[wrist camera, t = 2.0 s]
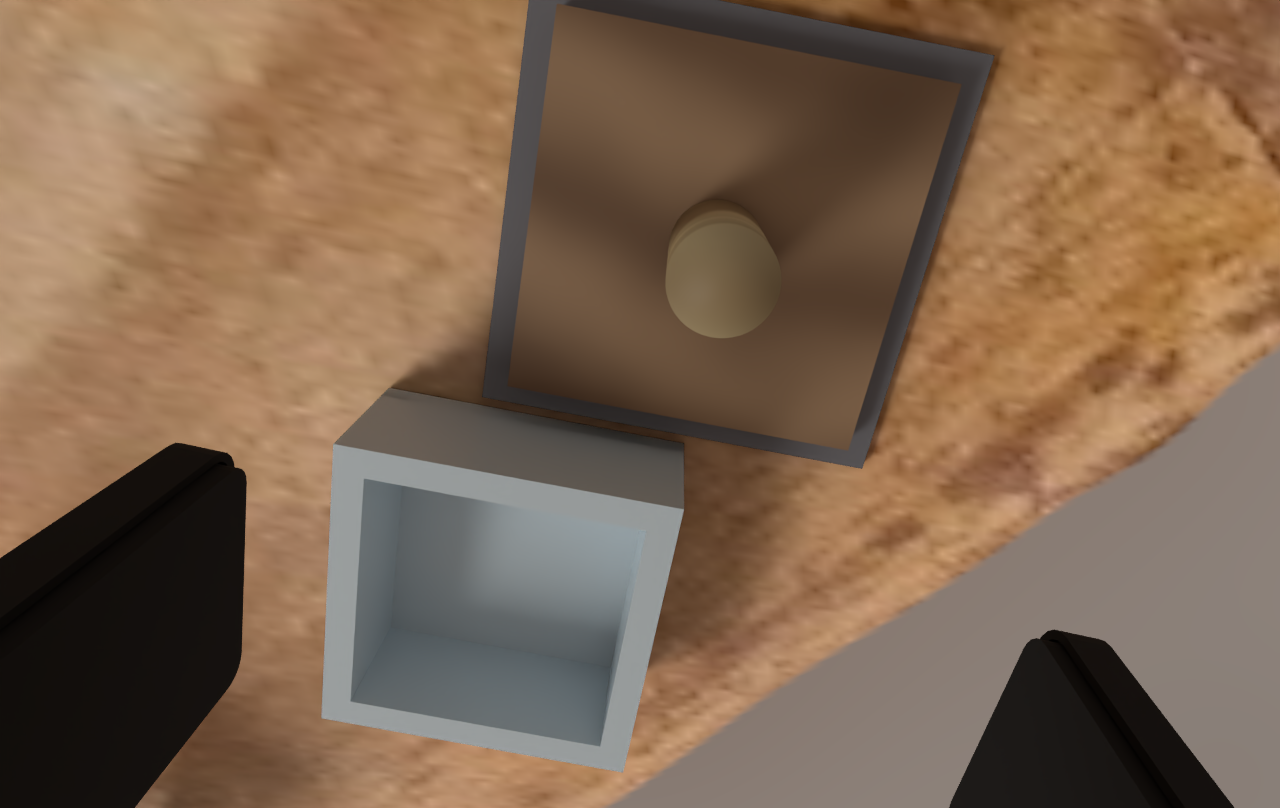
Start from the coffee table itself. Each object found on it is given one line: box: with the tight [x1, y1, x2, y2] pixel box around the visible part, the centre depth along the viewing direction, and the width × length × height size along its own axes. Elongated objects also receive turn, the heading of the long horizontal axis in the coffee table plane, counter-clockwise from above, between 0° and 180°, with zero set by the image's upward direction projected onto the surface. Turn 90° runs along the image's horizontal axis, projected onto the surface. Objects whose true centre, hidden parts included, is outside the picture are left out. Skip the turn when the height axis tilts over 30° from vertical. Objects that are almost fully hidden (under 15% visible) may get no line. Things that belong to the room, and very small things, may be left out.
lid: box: [507, 4, 962, 451], centre depth 23 cm, size 12×12×6 cm
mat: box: [482, 0, 995, 469], centre depth 26 cm, size 14×14×1 cm
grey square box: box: [321, 388, 684, 772], centre depth 29 cm, size 11×11×5 cm
